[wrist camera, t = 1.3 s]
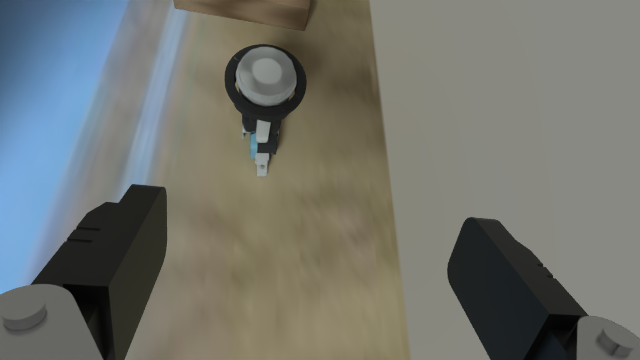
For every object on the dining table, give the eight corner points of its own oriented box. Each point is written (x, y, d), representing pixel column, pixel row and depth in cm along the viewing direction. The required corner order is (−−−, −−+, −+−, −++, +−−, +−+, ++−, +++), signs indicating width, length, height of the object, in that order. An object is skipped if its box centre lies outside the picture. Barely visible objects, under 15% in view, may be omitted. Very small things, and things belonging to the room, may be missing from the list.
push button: (292, 178, 34) (311, 130, 25) (227, 178, 33) (222, 127, 24) (289, 107, 36) (307, 38, 27) (228, 105, 35) (224, 31, 26)
